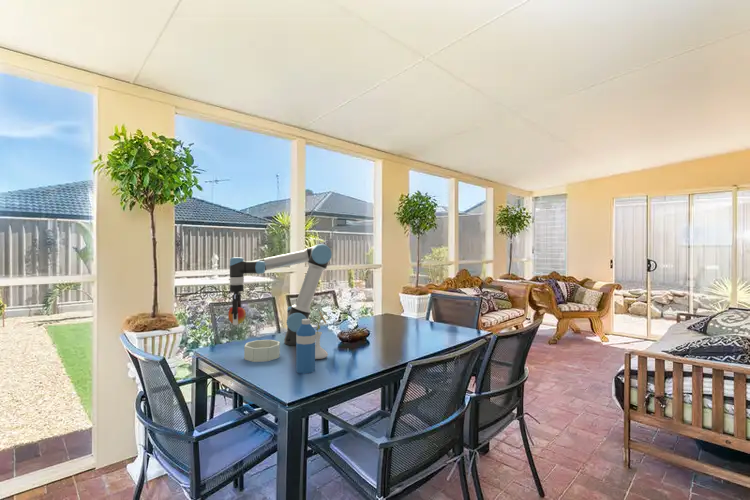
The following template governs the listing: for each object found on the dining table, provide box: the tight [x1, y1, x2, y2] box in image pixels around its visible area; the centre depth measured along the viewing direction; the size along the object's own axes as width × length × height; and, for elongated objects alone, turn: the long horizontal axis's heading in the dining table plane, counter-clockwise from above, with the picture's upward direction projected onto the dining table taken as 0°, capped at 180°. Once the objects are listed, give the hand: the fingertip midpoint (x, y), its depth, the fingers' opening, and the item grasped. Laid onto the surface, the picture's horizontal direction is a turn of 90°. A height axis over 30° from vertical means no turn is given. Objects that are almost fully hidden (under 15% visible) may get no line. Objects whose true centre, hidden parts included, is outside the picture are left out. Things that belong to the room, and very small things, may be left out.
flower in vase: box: [315, 311, 329, 360], centre depth 207 cm, size 13×11×25 cm
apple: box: [227, 306, 247, 325], centre depth 218 cm, size 10×10×10 cm
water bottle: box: [295, 318, 316, 375], centre depth 185 cm, size 9×9×25 cm
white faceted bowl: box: [243, 339, 281, 363], centre depth 207 cm, size 18×18×7 cm
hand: (236, 323), depth 218 cm, fingers closed on apple, 9 cm apart
